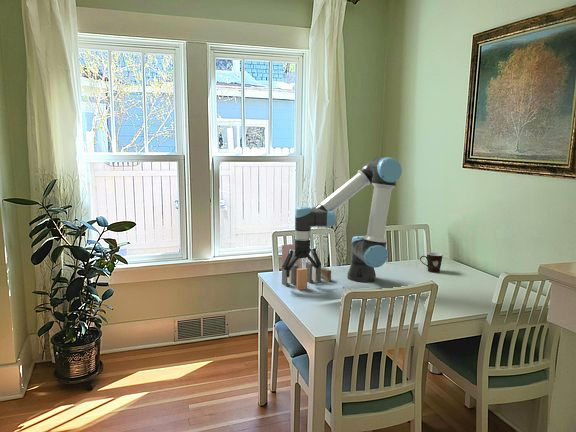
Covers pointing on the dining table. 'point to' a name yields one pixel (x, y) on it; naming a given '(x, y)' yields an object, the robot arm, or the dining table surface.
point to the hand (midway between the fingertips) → (301, 281)
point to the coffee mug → (433, 262)
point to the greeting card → (285, 252)
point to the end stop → (326, 274)
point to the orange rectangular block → (301, 279)
